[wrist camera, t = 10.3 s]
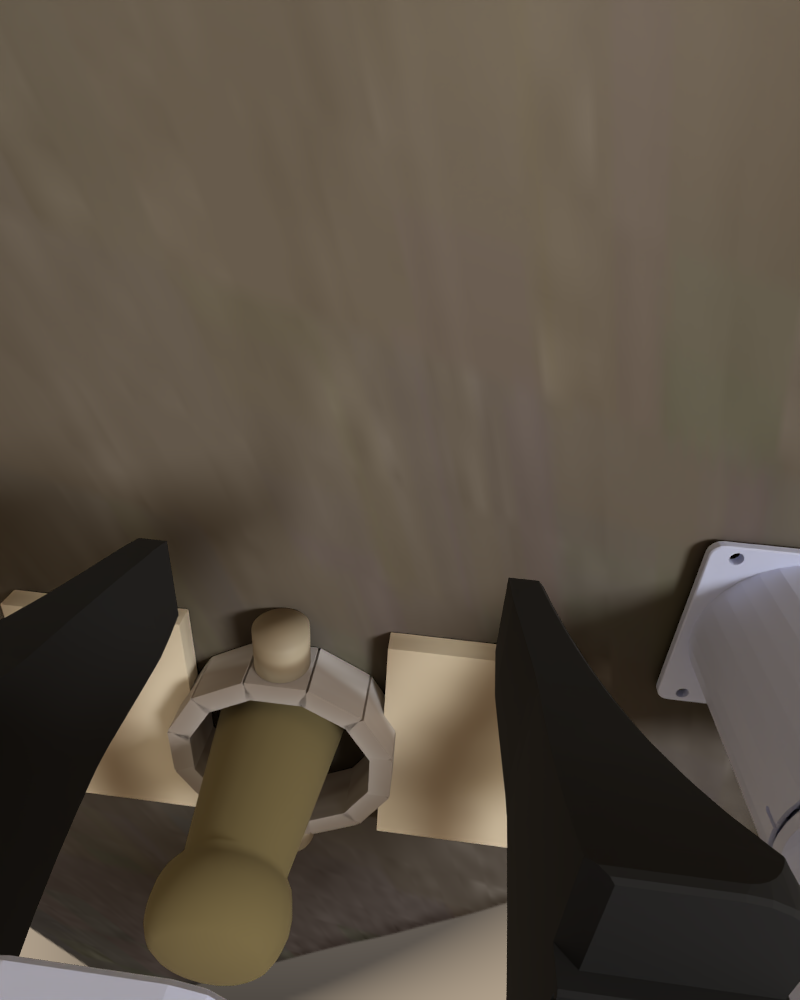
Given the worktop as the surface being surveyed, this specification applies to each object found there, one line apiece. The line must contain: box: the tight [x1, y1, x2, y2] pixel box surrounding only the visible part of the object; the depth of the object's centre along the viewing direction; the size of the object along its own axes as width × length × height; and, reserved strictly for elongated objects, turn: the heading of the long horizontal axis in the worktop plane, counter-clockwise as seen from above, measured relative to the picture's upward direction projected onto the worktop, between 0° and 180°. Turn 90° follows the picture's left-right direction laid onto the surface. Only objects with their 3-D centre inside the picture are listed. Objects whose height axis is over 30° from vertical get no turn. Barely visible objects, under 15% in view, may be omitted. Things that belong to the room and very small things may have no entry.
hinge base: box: [0, 590, 507, 852], centre depth 30 cm, size 25×14×2 cm, turn 87°
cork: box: [143, 700, 344, 986], centre depth 26 cm, size 6×6×11 cm
